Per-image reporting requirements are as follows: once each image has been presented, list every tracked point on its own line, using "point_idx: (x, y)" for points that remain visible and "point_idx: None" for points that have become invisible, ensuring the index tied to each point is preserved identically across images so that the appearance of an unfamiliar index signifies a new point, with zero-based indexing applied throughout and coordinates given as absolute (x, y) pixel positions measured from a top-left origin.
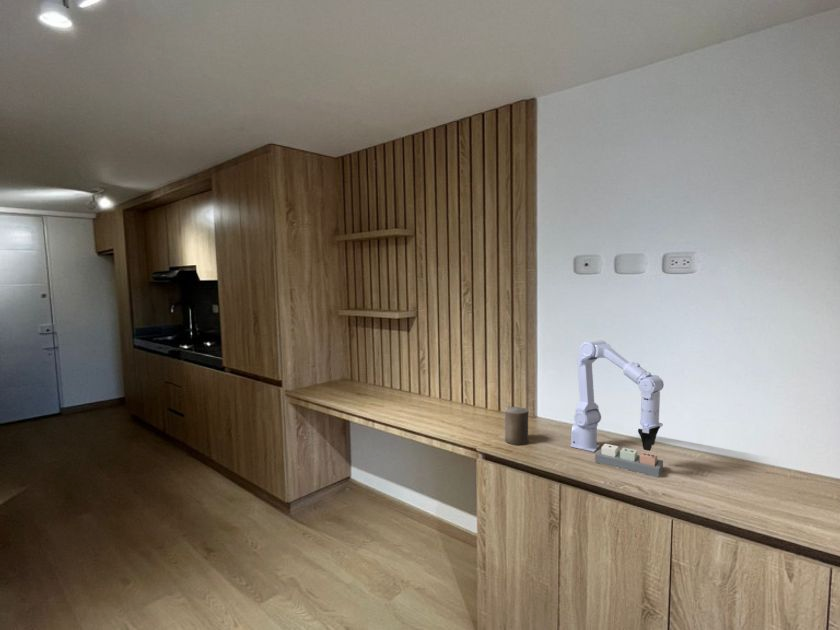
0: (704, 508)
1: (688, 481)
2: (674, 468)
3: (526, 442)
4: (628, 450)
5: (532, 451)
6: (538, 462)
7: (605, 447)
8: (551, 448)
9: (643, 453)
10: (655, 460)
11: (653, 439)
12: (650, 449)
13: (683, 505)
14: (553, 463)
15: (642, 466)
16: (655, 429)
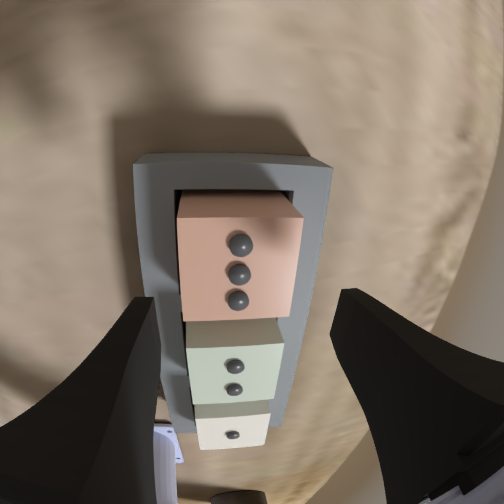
0: (486, 19)
1: (270, 5)
2: (95, 96)
3: (241, 493)
4: (227, 379)
5: (281, 476)
6: (345, 449)
7: (255, 439)
8: (232, 471)
9: (239, 308)
10: (262, 208)
11: (141, 346)
12: (366, 293)
13: (499, 80)
14: (339, 438)
15: (316, 259)
16: (113, 476)
